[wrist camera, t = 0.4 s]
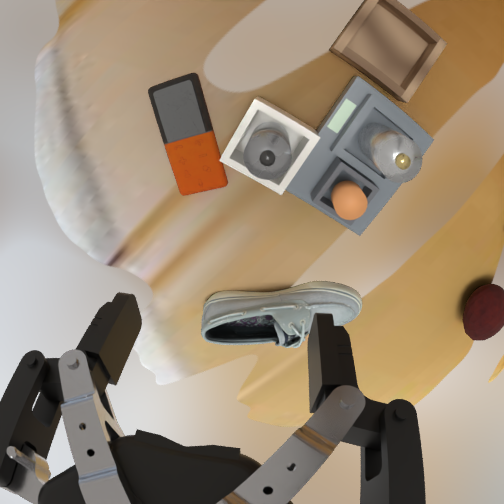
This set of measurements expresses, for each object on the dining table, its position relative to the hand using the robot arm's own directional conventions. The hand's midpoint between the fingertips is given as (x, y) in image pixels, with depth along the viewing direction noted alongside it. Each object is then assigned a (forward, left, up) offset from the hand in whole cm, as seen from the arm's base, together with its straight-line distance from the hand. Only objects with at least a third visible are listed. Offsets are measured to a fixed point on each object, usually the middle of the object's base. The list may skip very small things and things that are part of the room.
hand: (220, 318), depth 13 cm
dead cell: (-3, 0, -26) cm, 26 cm away
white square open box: (-3, 0, -26) cm, 26 cm away
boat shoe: (+18, +15, -27) cm, 36 cm away
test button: (-3, +10, -22) cm, 24 cm away
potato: (-2, +47, -26) cm, 54 cm away
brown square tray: (-21, +5, -26) cm, 34 cm away
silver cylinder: (-10, +10, -24) cm, 28 cm away
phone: (+2, -9, -27) cm, 28 cm away
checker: (-7, +10, -26) cm, 29 cm away
